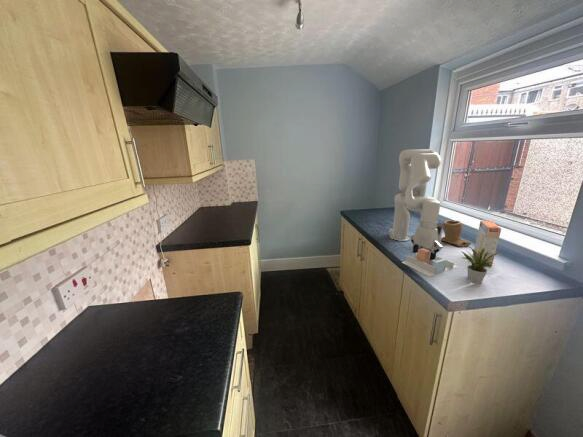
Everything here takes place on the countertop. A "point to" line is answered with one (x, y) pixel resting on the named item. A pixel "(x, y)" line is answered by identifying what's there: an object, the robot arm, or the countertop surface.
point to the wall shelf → (430, 265)
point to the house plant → (478, 265)
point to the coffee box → (440, 229)
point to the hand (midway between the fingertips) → (423, 255)
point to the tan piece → (454, 233)
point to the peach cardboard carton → (423, 255)
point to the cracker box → (487, 239)
